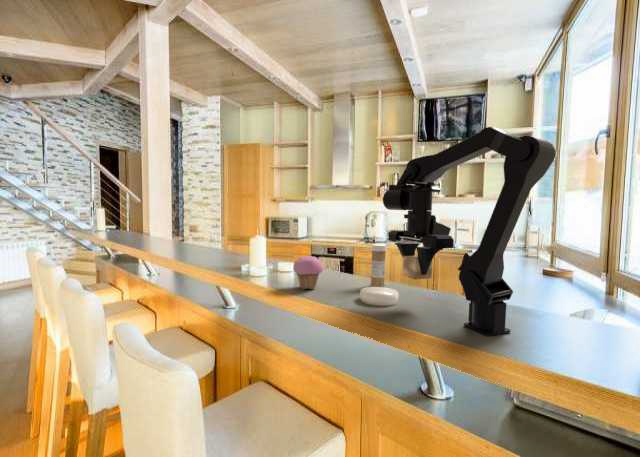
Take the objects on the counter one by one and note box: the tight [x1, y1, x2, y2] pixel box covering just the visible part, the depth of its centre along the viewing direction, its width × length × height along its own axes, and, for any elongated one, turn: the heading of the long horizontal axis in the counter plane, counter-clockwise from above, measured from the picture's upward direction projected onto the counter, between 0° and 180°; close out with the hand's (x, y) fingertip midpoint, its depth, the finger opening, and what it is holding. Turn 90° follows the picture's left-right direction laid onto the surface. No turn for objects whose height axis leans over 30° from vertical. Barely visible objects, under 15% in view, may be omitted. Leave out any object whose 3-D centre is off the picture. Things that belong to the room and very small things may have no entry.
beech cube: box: [402, 255, 433, 280], centre depth 86 cm, size 5×5×5 cm
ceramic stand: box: [360, 286, 399, 307], centre depth 91 cm, size 10×10×2 cm
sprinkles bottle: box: [370, 243, 387, 288], centre depth 107 cm, size 5×5×13 cm
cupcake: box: [292, 255, 324, 290], centre depth 102 cm, size 9×9×10 cm
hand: (416, 272), depth 86 cm, fingers closed on beech cube, 5 cm apart
